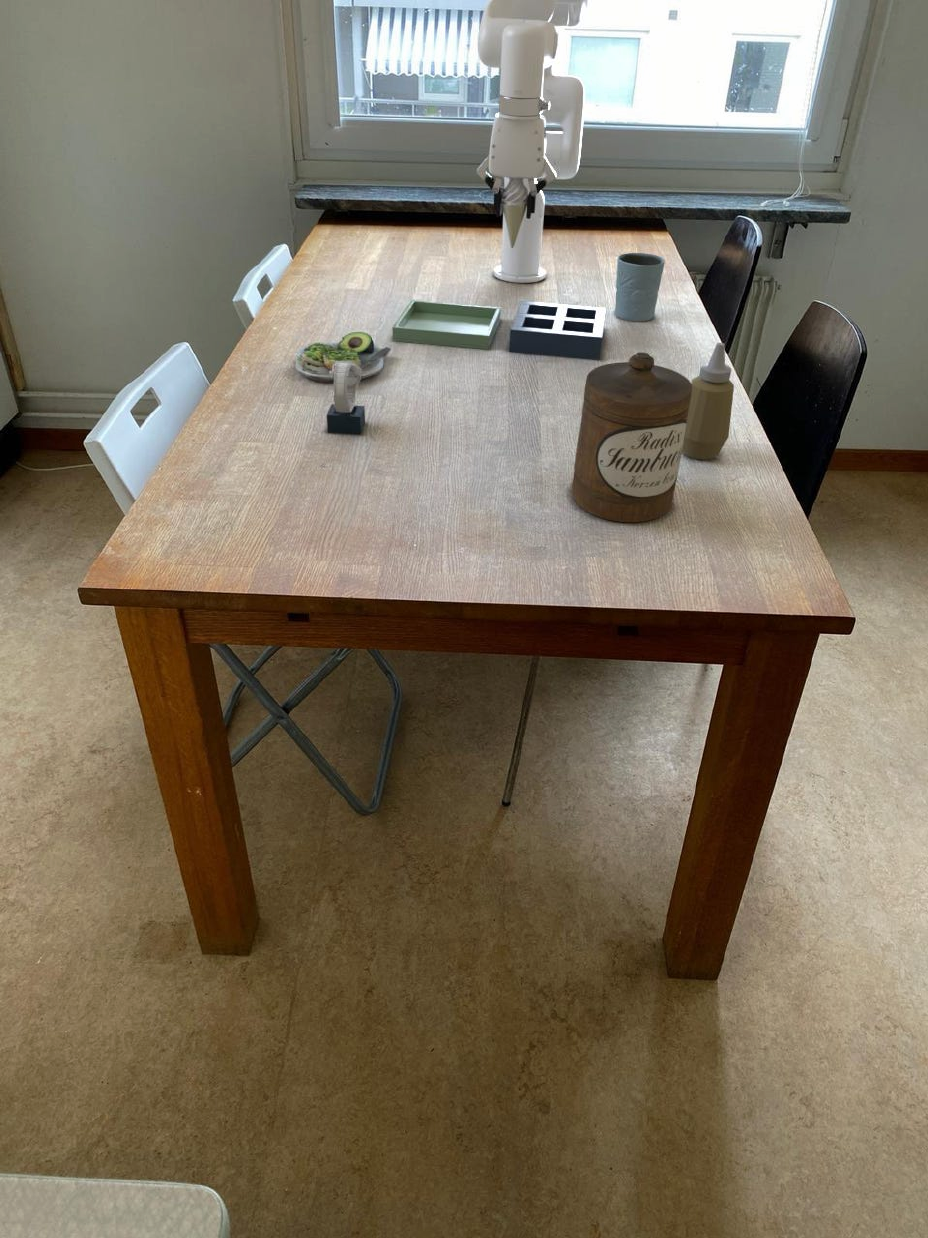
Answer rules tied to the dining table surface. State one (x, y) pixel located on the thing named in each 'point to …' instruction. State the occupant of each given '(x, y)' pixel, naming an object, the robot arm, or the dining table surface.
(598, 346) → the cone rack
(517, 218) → the ice cream cone
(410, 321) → the shallow green box
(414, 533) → the dining table surface
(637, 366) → the wooden container
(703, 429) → the squeeze bottle
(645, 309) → the blue ceramic cup
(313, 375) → the avocado toast plate
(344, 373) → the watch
